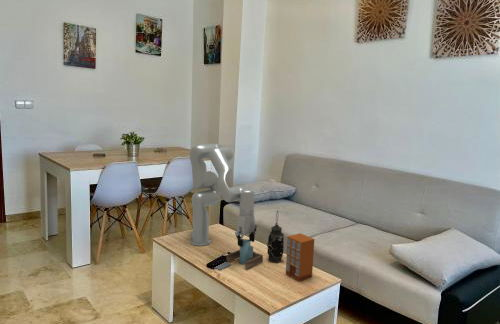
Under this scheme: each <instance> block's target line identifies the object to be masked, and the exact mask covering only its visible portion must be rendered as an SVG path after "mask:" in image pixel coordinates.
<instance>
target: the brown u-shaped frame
mask: <svg viewBox="0 0 500 324" xmlns="http://www.w3.org/2000/svg"><path fill="white" fill-rule="evenodd" d="M239 258H240V249H237V250H236V251H233V252H230V253H228V254H226V260H225V262H226V261H227V262H229V263H231V262H233V261H235V260H237V259H238V260H239ZM263 260H264V255H263V254H262V253H258V252H256V251H253V258H250V260H249V261H247V262H246V264H245V266H244V267H245V270H246V271H249V270H250V269H252V268H254V267H257V266H259V265H260V264H262V263H263Z"/></svg>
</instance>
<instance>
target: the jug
mask: <svg viewBox="0 0 500 324" xmlns="http://www.w3.org/2000/svg"><path fill="white" fill-rule="evenodd" d="M242 239H243V247H241V246H239V250H240V258H238V260H239V261H238V262H239V264H241V265H246V262H247V261H249V260H251V259H250V258H253V252H254V246H252V245H251V242H252V241H250V240H249V239H248V238H242Z"/></svg>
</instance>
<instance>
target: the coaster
mask: <svg viewBox="0 0 500 324" xmlns="http://www.w3.org/2000/svg"><path fill="white" fill-rule="evenodd" d="M231 266H233V263H231V262H229V263H228V262H226V261H225V262H224V263H222V264H220V265H218V266H216V267H214V268H213V269H215V270H217V269H218V271H222V269H223V270H224V269H225V270H226V269H227V268H229V267H231Z"/></svg>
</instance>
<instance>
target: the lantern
mask: <svg viewBox="0 0 500 324" xmlns="http://www.w3.org/2000/svg"><path fill="white" fill-rule="evenodd" d="M278 213H279V210H277V211H276V214H275V216H276V217H275V220H276V222H275V223H274V226H271V227H270V229H271V231H270V232H269V233H268V234H269V235H268V239H267V245H266V247H267V253H266V254H267V255H268V258H267V261H269V262H270V263H281V262H282V258H283V256H284V245H285V243H284V241H285V240H284V238H285V237H284V236H285V234H284V233H283V232H282V230H283V228H282V227H281V226H279V224H278V220H279V218H278Z"/></svg>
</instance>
